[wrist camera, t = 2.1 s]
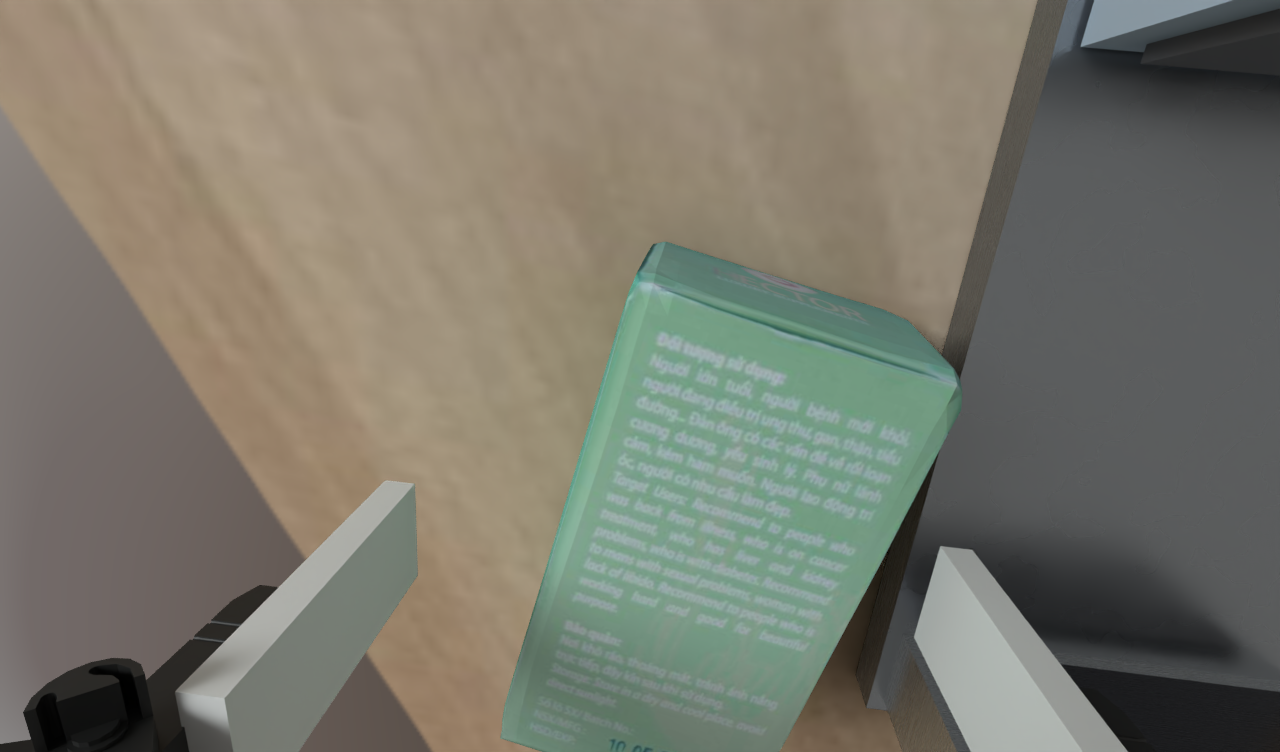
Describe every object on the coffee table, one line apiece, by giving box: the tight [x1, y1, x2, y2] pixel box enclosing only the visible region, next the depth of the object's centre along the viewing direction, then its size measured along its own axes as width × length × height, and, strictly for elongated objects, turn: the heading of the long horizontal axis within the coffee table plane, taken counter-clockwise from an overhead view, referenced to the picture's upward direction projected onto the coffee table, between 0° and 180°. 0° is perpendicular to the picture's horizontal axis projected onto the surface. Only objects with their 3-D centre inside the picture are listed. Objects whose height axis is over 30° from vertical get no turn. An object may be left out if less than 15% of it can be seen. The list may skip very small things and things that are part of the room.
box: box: [501, 242, 962, 752], centre depth 17 cm, size 7×14×8 cm, turn 163°
